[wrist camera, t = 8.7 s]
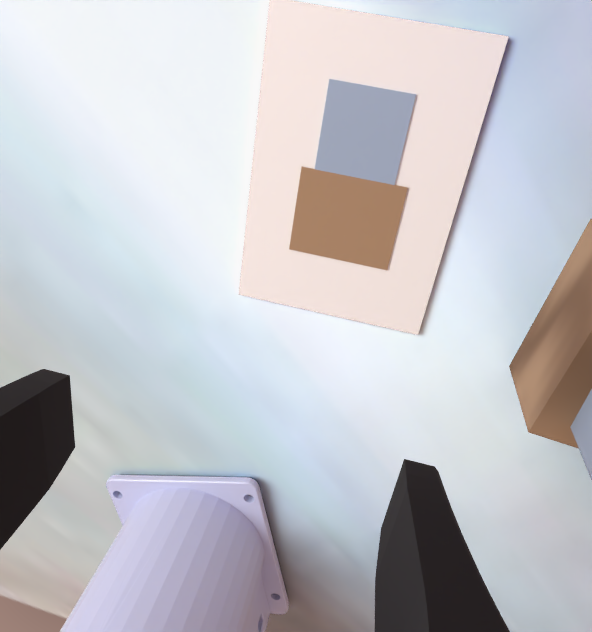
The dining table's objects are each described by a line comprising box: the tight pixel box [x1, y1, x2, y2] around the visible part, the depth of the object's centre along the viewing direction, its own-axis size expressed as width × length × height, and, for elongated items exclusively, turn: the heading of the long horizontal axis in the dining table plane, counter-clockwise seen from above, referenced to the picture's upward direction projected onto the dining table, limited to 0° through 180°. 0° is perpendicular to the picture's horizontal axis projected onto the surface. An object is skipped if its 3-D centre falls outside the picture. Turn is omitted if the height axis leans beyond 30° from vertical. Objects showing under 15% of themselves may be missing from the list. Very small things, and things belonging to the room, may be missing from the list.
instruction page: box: [239, 0, 509, 335], centre depth 18 cm, size 10×7×1 cm
